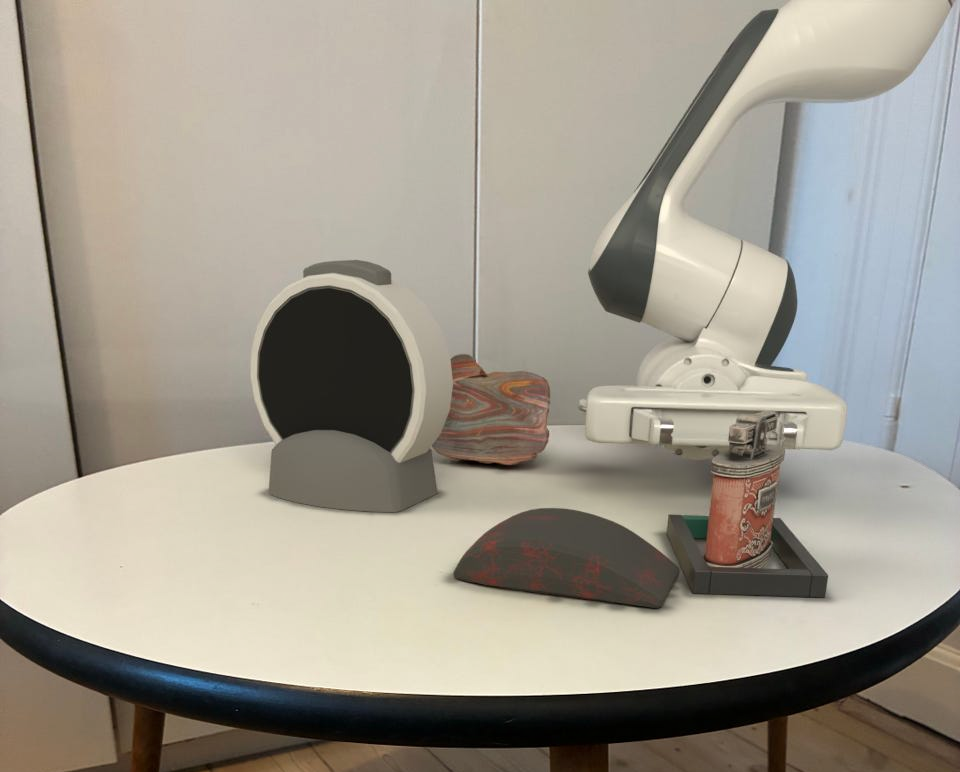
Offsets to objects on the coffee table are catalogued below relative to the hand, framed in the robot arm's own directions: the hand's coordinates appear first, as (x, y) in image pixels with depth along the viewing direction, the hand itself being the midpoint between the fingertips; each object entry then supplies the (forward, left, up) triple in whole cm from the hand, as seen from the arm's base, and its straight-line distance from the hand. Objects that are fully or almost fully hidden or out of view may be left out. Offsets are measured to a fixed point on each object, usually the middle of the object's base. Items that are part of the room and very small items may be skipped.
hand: (728, 436), depth 75 cm
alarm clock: (+29, -8, -7) cm, 31 cm away
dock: (0, +8, -7) cm, 11 cm away
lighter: (0, +8, -7) cm, 11 cm away
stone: (+18, -22, -7) cm, 29 cm away
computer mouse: (+12, +13, -7) cm, 19 cm away
